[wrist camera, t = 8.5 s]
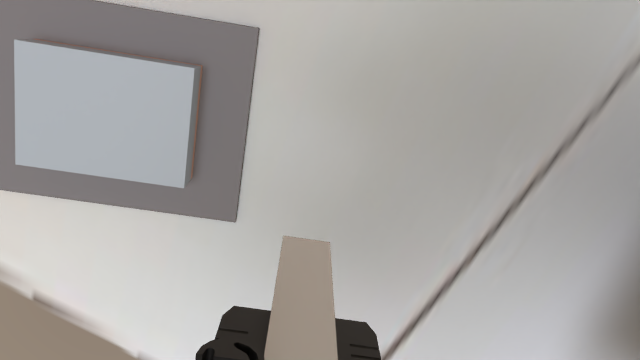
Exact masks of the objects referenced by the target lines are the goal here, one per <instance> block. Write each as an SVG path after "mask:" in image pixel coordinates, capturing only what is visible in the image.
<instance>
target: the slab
mask: <svg viewBox="0 0 640 360" xmlns="http://www.w3.org/2000/svg"><path fill="white" fill-rule="evenodd" d="M202 67H203V65H197V64H190V63H184V62H178V61H172V60H165V59H159V58H153V57H147V56H140V55H134V54H128V53H122V52H115V51H109V50H103V49H97V48H90V47H84V46H78V45H72V44H65V43H59V42H53V41H47V40H40V39H16V40H14V77H15V164H16V165H23V166H30V167H37V168H44V169H51V170H58V171H65V172H72V173H80V174H87V175H94V176H101V177H108V178H115V179H122V180H129V181H136V182H143V183H150V184H157V185H164V186H171V187H178V188H185V186H186V185H187V184H188V182H189V181H190V180H191V178H192V175H193V164H194V154H195V143H196V132H197V121H198V110H199V100H200V89H201V78H202Z"/></svg>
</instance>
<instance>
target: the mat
mask: <svg viewBox="0 0 640 360" xmlns="http://www.w3.org/2000/svg"><path fill="white" fill-rule="evenodd" d="M258 33H259V28H255V27H249V26H243V25H237V24H231V23H225V22H219V21H213V20H207V19H201V18H195V17H189V16H183V15H177V14H171V13H165V12H159V11H153V10H147V9H141V8H135V7H129V6H123V5H117V4H111V3H105V2H99V1H93V0H0V190H5V191H12V192H19V193H26V194H34V195H41V196H48V197H55V198H63V199H70V200H77V201H84V202H91V203H99V204H106V205H113V206H120V207H128V208H135V209H142V210H149V211H157V212H164V213H171V214H178V215H186V216H193V217H200V218H207V219H215V220H222V221H229V222H235V221H236V215H237V207H238V198H239V190H240V182H241V174H242V165H243V157H244V149H245V141H246V132H247V124H248V116H249V108H250V99H251V91H252V83H253V75H254V66H255V58H256V50H257V42H258ZM16 39H40V40H47V41H53V42H59V43H65V44H72V45H78V46H84V47H90V48H97V49H103V50H109V51H115V52H122V53H128V54H134V55H140V56H147V57H153V58H159V59H165V60H172V61H178V62H184V63H190V64H197V65H203V67H202V78H201V89H200V100H199V110H198V121H197V132H196V143H195V154H194V164H193V175H192V178H191V180H190V181H189V182H188V184H187V185H186V186H185V188H178V187H171V186H164V185H157V184H150V183H143V182H136V181H129V180H122V179H115V178H108V177H101V176H94V175H87V174H80V173H72V172H65V171H58V170H51V169H44V168H37V167H30V166H23V165H16V164H15V77H14V40H16Z"/></svg>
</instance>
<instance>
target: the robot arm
mask: <svg viewBox="0 0 640 360" xmlns="http://www.w3.org/2000/svg"><path fill="white" fill-rule="evenodd" d="M196 360H381V356H380V351H379V346H378V341H377V336H376V334H375V333H374V331H373V330H372V329H371V328H370V326H369V325H368V324H367V323H366V322H359V321H351V320H344V319H337V318H335V311H334V296H333V281H332V266H331V251H330V242H324V241H317V240H310V239H303V238H296V237H289V236H283V241H282V247H281V254H280V260H279V266H278V272H277V278H276V285H275V291H274V297H273V303H272V309H271V311H268V310H260V309H253V308H246V307H238V306H233V307H232V308H231V309H230V310H228V311H227V312H226V313H225V314H224V315H223V316H222V319H221V322H220V325H219V328H218V331H217V334H216V337H215V340H212V341H210V342H208V343H206V344H205V345H203V346H201V348H200V349H199V351H198V352H197V353H196Z"/></svg>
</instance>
